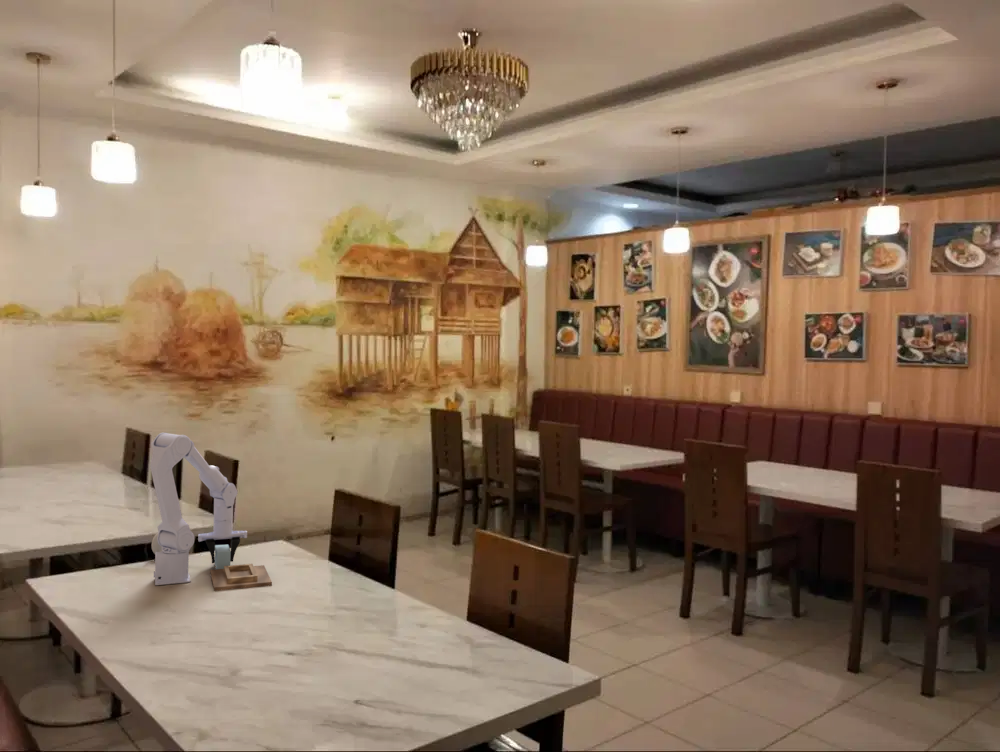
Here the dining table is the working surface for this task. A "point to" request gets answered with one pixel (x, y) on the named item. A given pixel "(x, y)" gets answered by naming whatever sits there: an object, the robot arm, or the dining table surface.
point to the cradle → (239, 577)
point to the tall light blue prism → (222, 556)
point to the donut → (155, 544)
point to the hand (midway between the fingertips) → (222, 561)
